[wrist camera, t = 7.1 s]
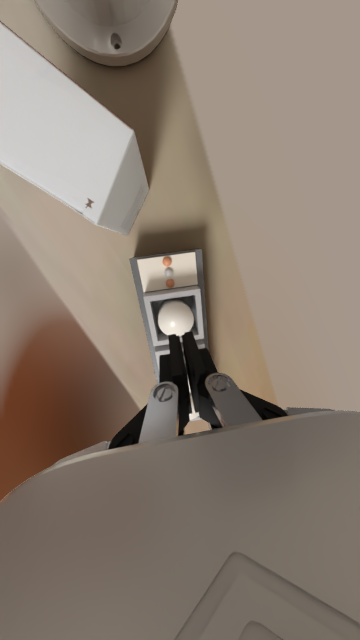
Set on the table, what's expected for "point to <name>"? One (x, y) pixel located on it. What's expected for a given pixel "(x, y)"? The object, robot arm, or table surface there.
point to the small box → (67, 139)
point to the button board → (170, 296)
